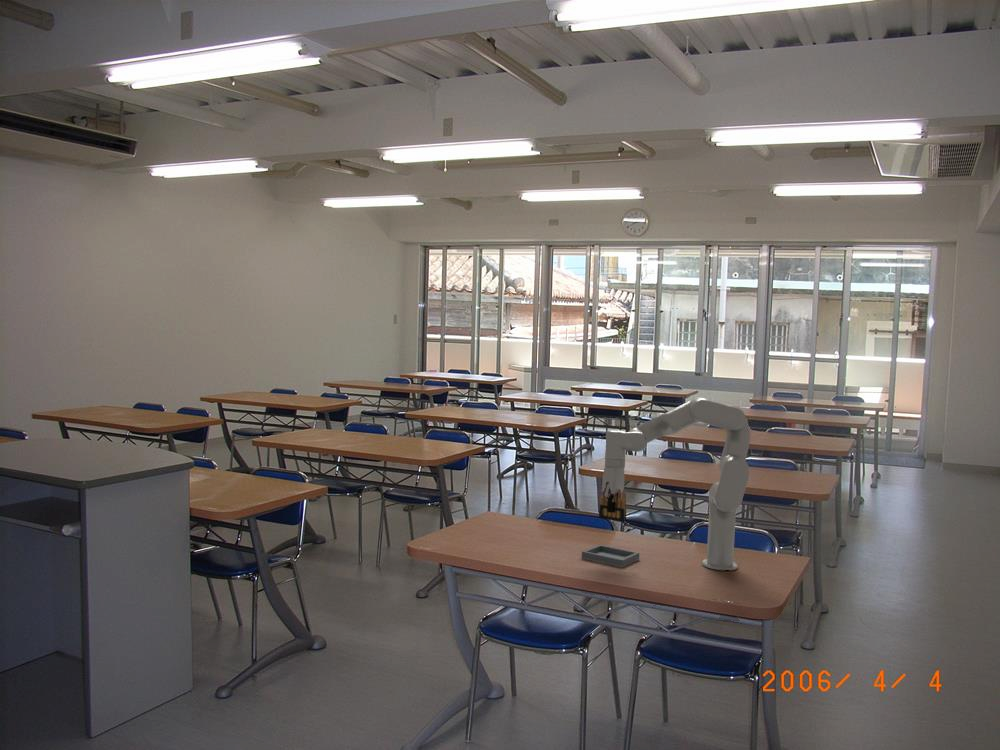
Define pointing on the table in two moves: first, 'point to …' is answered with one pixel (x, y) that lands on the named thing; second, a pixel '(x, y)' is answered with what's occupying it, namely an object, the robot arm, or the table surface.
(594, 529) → the table surface
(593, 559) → the holder tray
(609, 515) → the ammunition clip
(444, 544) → the table surface
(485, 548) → the table surface
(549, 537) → the table surface
